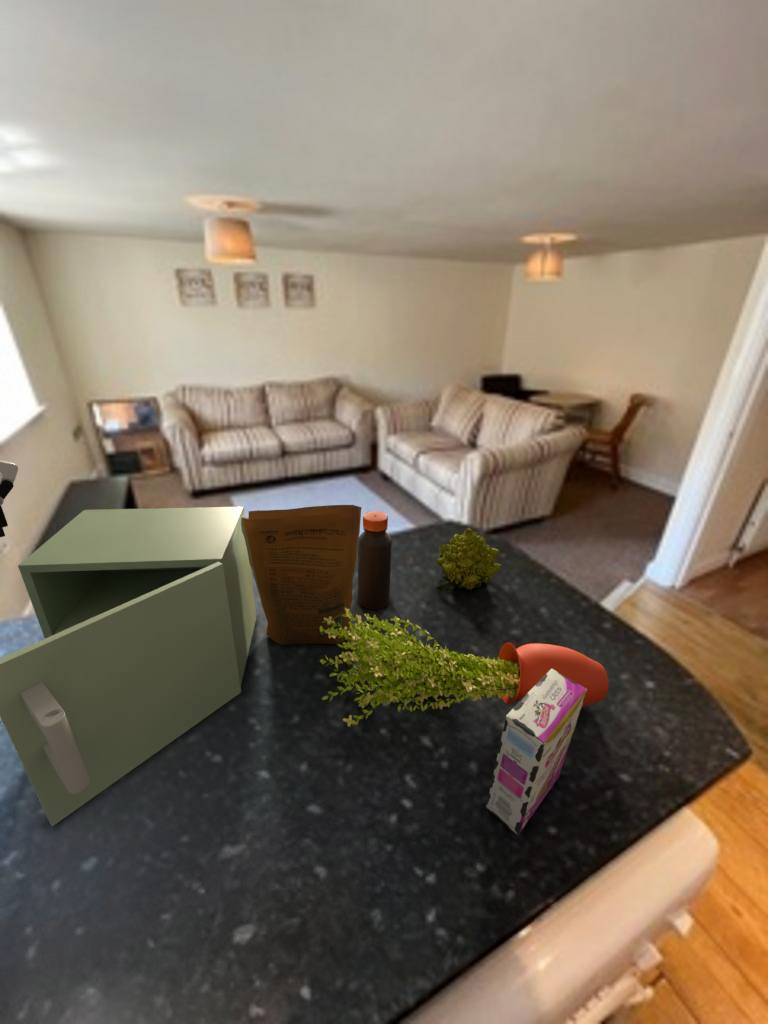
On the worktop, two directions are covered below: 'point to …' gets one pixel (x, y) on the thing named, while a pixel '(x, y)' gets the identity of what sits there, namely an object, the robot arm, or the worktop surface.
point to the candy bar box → (534, 748)
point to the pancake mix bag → (303, 568)
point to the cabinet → (138, 564)
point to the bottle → (374, 561)
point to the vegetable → (467, 561)
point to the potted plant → (449, 668)
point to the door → (118, 688)
